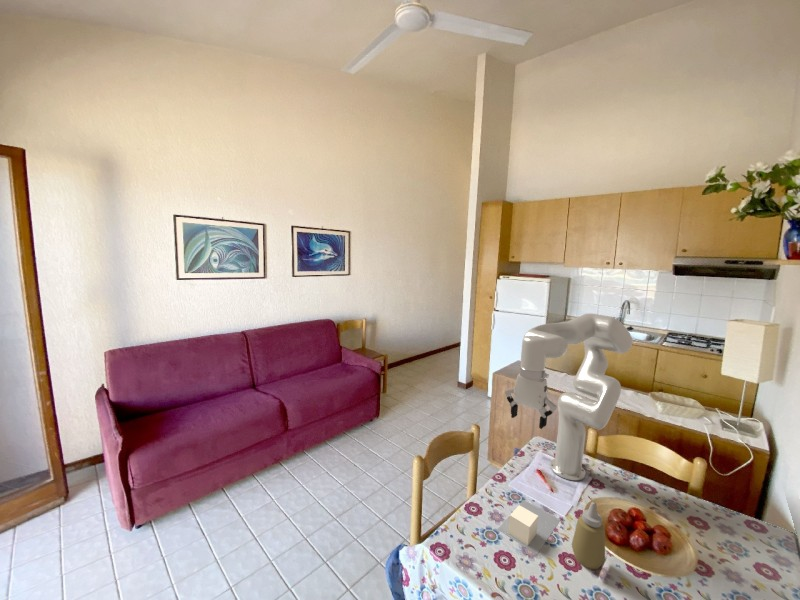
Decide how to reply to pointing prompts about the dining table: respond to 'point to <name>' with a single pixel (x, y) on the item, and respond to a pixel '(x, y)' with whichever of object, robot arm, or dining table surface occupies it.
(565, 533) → the dining table surface
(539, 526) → the plate
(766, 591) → the dining table surface
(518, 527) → the cream foam brick
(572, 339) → the robot arm
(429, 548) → the dining table surface
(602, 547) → the squeeze bottle
